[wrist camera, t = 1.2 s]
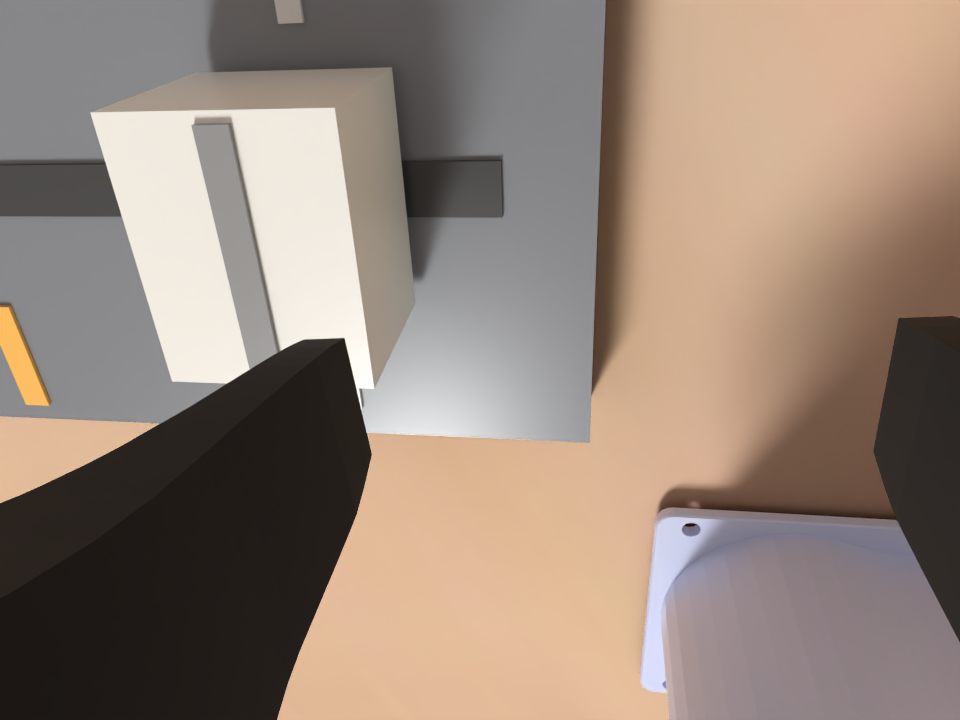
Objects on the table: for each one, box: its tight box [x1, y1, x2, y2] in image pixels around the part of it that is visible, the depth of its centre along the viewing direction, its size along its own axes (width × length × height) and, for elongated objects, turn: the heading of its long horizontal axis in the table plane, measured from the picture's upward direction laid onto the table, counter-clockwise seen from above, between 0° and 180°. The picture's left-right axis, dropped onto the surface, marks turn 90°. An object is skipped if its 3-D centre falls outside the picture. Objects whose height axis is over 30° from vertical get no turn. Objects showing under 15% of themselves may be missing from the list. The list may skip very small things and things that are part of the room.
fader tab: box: [90, 67, 416, 389], centre depth 14 cm, size 4×5×4 cm
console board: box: [0, 0, 606, 443], centre depth 17 cm, size 20×13×2 cm, turn 93°
